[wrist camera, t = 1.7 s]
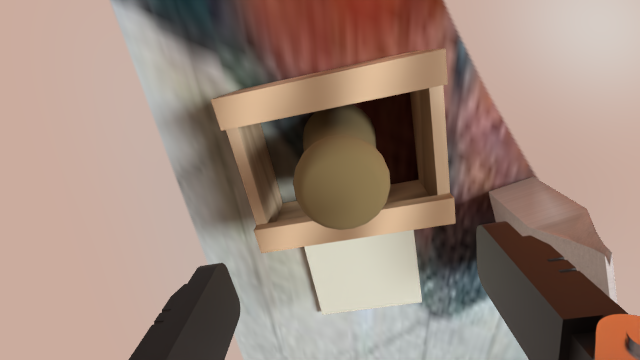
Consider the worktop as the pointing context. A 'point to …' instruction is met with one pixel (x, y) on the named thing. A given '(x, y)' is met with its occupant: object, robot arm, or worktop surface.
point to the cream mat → (365, 272)
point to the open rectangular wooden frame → (333, 91)
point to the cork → (341, 169)
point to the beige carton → (556, 227)
